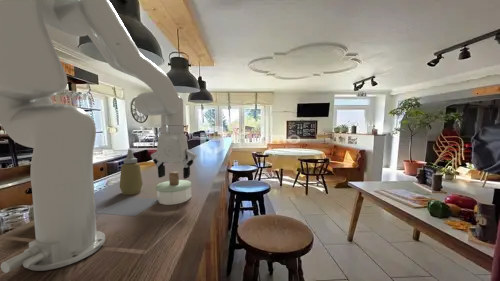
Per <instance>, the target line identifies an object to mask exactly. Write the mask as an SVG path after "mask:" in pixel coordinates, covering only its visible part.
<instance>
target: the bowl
mask: <svg viewBox="0 0 500 281" xmlns="http://www.w3.org/2000/svg"><path fill="white" fill-rule="evenodd" d="M190 198H192V186H191V187H190V188H188V189H186V190H183V191H178V192H159V191H157V190H156V199H157V200H158V203H159V204H160V205H161V204H162V205H165V206H166V205H170V206H171V205H172V206H173V205H177V204H178V205H179V204H182V203H185V202H187V201H189V200H190Z"/></svg>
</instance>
